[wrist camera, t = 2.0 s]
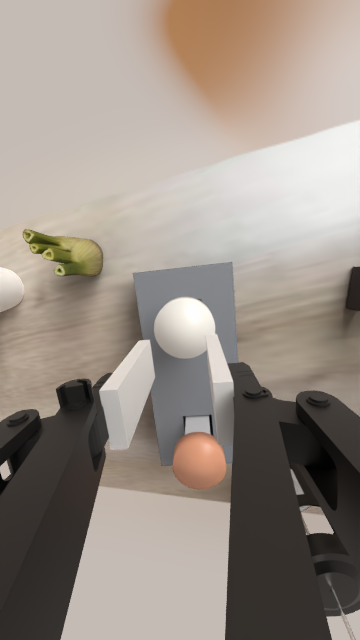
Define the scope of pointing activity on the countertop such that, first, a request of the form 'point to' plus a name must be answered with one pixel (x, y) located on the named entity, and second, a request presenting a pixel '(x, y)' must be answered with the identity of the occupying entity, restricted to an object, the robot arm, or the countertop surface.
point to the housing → (188, 374)
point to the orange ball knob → (199, 455)
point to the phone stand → (354, 290)
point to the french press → (329, 561)
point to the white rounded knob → (184, 327)
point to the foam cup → (10, 289)
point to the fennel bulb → (67, 253)
